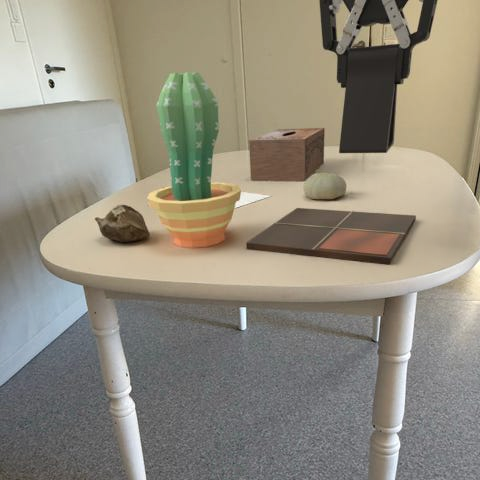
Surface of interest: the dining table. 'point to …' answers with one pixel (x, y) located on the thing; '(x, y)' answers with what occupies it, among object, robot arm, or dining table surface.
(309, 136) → the tissue box cover
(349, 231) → the board
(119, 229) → the fossilized seashell
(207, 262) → the dining table surface
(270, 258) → the dining table surface
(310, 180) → the sea urchin shell
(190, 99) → the potted cactus
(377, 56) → the phone stand
